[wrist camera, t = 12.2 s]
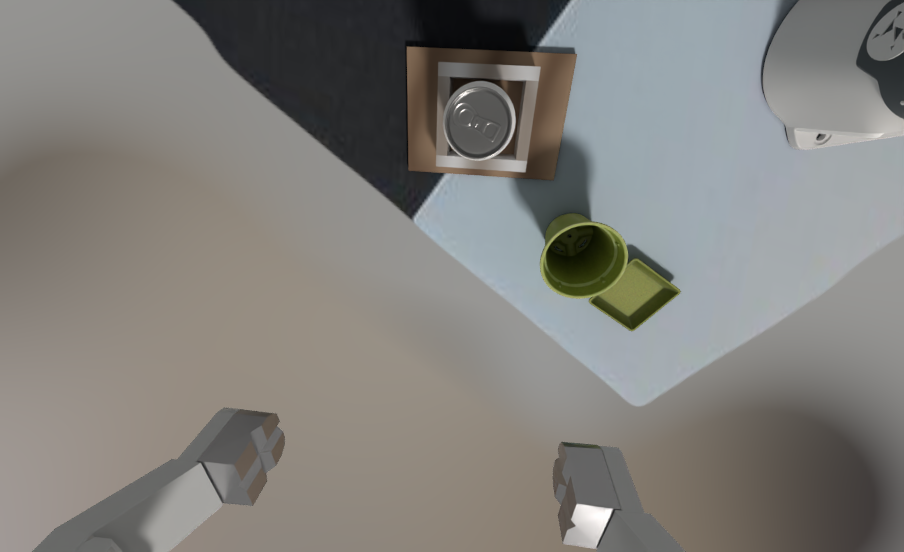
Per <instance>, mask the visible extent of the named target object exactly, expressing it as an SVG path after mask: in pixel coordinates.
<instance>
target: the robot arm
mask: <svg viewBox="0 0 904 552" xmlns="http://www.w3.org/2000/svg"><path fill="white" fill-rule="evenodd" d="M763 89H764V94H765V98H766V101H767V103H768V105H769V107H770V108H771V110H772V111H773V112H774V114H775V115H776V116H777V117H778V118H779V119H780V120H781V121H782V122H783V123H784V125H785V126H786V132H787V137H788V141H789V144H790V145H791V147H792V148H794V149H798V150H808V149H815V148H822V147H829V146H836V145H843V144H850V143H856V142H863V141H870V140H877V139H884V138H891V137H897V136H904V0H799V1H798V2H797V3H796V4H795V6H794V7H793V8H792V9H791V11H790V12H789V13H788V15H787V16H786V18H785V19H784V20H783V22H782V24H781V25H780V27H779V29H778V30H777V32H776V34H775V36H774V38H773V40H772V43H771V45H770V47H769V50H768V53H767V56H766V60H765V64H764V70H763ZM819 133H820V136H819V138H818V139H816V137H817V135H818V134H819ZM279 422H280V421H279V418H278V416H277V414H274V413H267V412H258V411H250V410H243V409H233V408H223V409H221V410H220V411H218V412H217V413H216V414H215V416H214V417H213V418H212V419H211V420H210V422H209V423H208V424H207V425H206V426H205V427H204V428H203V430H202V431H201V432H200V433H199V434H198V436H197V437H196V438H195V439H194V440H193V441H192V443H191V444H190V445H189V446H188V447H187V448H186V450H185V451H184V452H183V453H182V454H181V456H180V457H179V458H178V459H177V460H174V459H171V460H170V461H168V462H166V463H165V464H163V465H161V466H160V467H158V468H157V469H155V470H153V471H151V472H149V473H148V474H146V475H145V476H143V477H141V478H140V479H138V480H136V481H135V482H133V483H131V484H129V485H128V486H126V487H124V488H123V489H121V490H119V491H118V492H116V493H114V494H113V495H111V496H109V497H108V498H106V499H104V500H103V501H101V502H99V503H98V504H96V505H94V506H92V507H91V508H89V509H87V510H86V511H84V512H82V513H81V514H79V515H77V516H76V517H74V518H72V519H71V520H69V521H67V522H66V523H64V524H62V525H61V526H59V527H57V528H55V529H54V531H52V532H51V533H50V534H49V535H48V536H47V537H46V538H45V539H44V540H43V541H42V542H41V544H39V545H38V546H37V547H36V548H35V549H34V550H33V551H32V552H169V551H170V550H171V549H173V548H174V547H175V546H176V545H177V544H178V543H180V542H181V541H182V540H183V539H184V538H185V537H186V536H188V535H189V534H190V533H191V532H192V531H193V530H195V529H196V528H197V527H198V526H199V525H200V524H202V523H203V522H204V521H205V520H206V519H207V518H209V516H211V515H212V514H213V513H214V512H215V511H217V510H218V509H219V508H220V507H221V506H222V505H223V503H228V504H239V505H250V506H253V505H254V503H255V501H256V500H257V498H258V496H259V494H260V493H261V491H262V489H263V487H264V486H265V484H266V482H267V475H266V473H267V472H268V471H269V470H271V469H272V468H273V467H275V466H276V465H277V462H278V461H279V459H280V457H281V455H282V452H283V449H284V445H285V436H284V433H283V431H282V430H281V429H280V428H278V427H277V425H278V423H279ZM558 454H559V458H558V459H556V460H555V463H554V467H553V487H554V494H555V498H556V499H557V500H558V502H559V503H560V504H561V506H560V510H559V513H558V519H559V524H560V530H561V537H562V543H563V544H568V545H574V546H581V547H587V548H594V549H597V552H686V551H685V550H684V549H683V548H682V547H681V546H680V545H679V544H678V543H677V541H675V539H674V538H673V537H672V536H671V535H670V534H669V533H668V532H667V531H666V530H665V529H664V528H663V527H662V526H661V524H660V523H659V522H658V521H657V520H656V519H655V518H654V517H653V516H652V515H651V514H647V513H644V510H643V508H642V505H641V502H640V499H639V497H638V494H637V491H636V489H635V486H634V483H633V481H632V478H631V476H630V473H629V470H628V467H627V465H626V462H625V459H624V457H623V454H622V452H621V450H620V449H619V448H617V447H607V446H598V445H591V444H580V443H568V442H561V443H560V444H559V448H558Z"/></svg>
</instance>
